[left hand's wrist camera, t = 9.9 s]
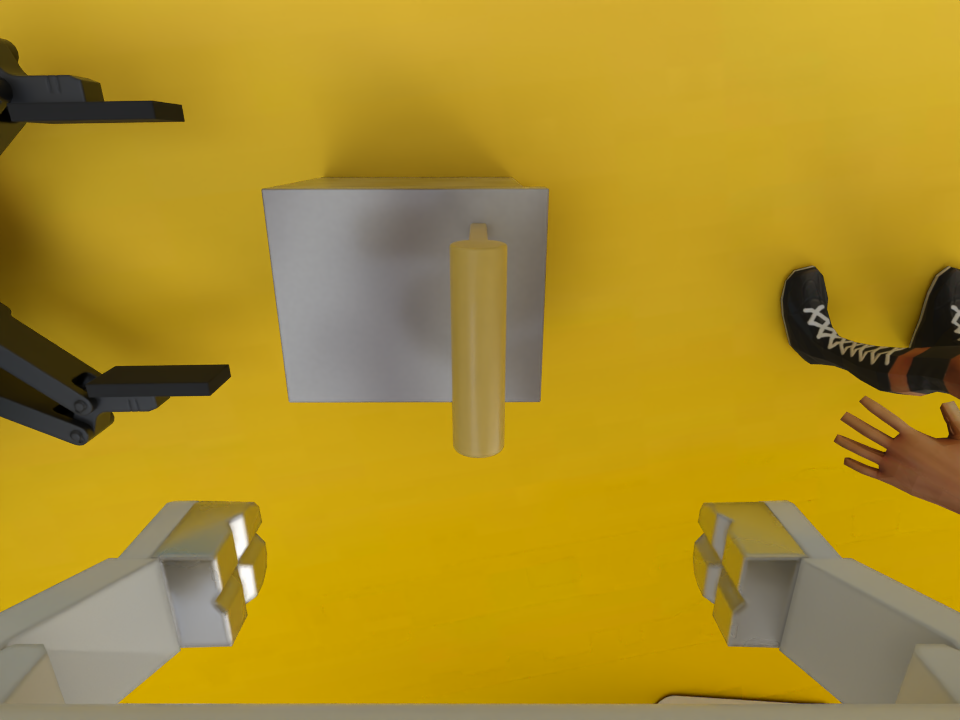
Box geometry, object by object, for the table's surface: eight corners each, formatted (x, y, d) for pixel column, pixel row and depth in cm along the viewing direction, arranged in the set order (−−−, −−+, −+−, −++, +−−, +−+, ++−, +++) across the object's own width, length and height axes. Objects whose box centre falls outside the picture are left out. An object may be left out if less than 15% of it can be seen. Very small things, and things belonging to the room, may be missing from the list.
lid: (545, 186, 25) (578, 205, 17) (538, 392, 29) (562, 489, 21) (270, 186, 25) (171, 205, 17) (296, 392, 29) (223, 490, 21)
